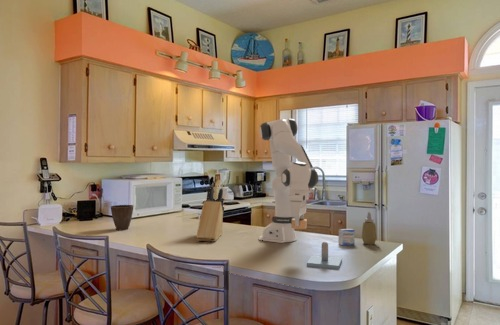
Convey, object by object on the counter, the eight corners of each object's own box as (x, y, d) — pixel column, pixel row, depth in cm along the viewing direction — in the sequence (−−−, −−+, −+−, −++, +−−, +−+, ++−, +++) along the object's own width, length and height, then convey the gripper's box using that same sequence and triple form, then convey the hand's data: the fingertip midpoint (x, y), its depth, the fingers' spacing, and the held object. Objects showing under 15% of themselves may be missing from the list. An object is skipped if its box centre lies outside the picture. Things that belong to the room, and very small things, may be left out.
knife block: (225, 231, 248) (225, 185, 248) (215, 243, 213) (215, 189, 213) (208, 231, 249) (208, 185, 249) (195, 242, 214) (195, 188, 214)
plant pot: (105, 230, 250) (105, 206, 250) (119, 226, 264) (119, 204, 264) (124, 231, 246) (124, 207, 246) (137, 228, 260) (137, 205, 260)
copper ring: (290, 228, 177) (290, 220, 177) (293, 226, 183) (293, 218, 183) (304, 229, 175) (304, 221, 175) (307, 227, 181) (307, 218, 181)
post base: (306, 266, 167) (306, 243, 166) (312, 258, 180) (312, 237, 180) (338, 269, 162) (338, 246, 162) (341, 261, 175) (342, 239, 175)
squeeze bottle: (373, 242, 216) (373, 211, 216) (378, 245, 208) (378, 213, 208) (359, 242, 216) (359, 211, 216) (364, 245, 208) (364, 213, 208)
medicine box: (342, 245, 207) (342, 230, 207) (338, 244, 211) (338, 228, 211) (354, 245, 209) (354, 229, 209) (350, 243, 214) (350, 228, 214)
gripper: (297, 193, 190) (297, 220, 190) (288, 197, 170) (287, 227, 170) (309, 194, 188) (309, 221, 188) (301, 197, 168) (301, 228, 168)
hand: (299, 224), depth 179 cm, fingers closed on copper ring, 7 cm apart
